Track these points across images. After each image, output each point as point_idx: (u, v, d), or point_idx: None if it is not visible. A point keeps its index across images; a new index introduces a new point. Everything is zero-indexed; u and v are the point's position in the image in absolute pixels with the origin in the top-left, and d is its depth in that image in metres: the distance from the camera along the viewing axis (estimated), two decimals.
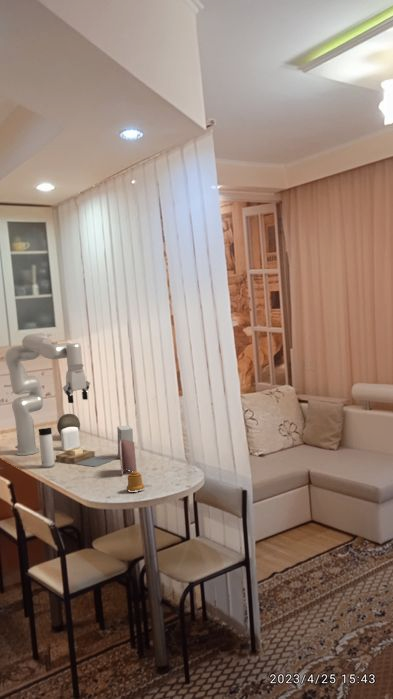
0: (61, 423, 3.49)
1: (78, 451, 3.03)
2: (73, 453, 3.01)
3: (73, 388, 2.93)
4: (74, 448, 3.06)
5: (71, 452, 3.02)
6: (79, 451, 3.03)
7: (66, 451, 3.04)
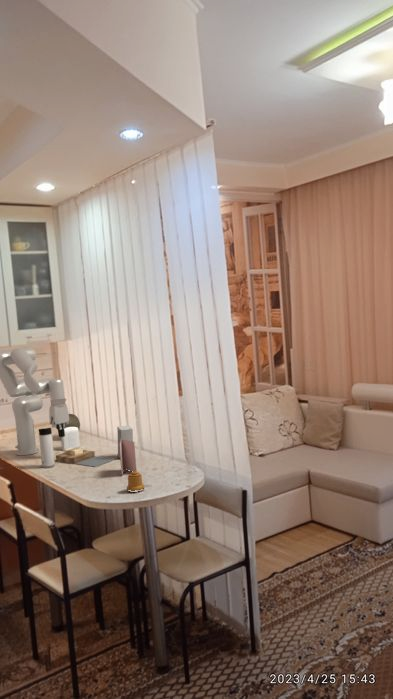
0: None
1: (78, 451, 3.03)
2: (73, 453, 3.01)
3: (56, 422, 3.04)
4: (74, 448, 3.06)
5: (71, 452, 3.02)
6: (79, 451, 3.03)
7: (66, 451, 3.04)
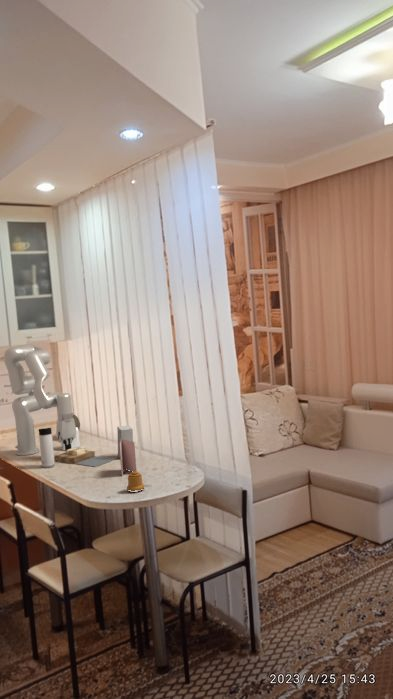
0: None
1: (80, 451, 3.02)
2: (75, 453, 3.00)
3: (63, 437, 3.02)
4: (76, 448, 3.05)
5: (73, 452, 3.01)
6: (81, 451, 3.02)
7: (68, 451, 3.03)
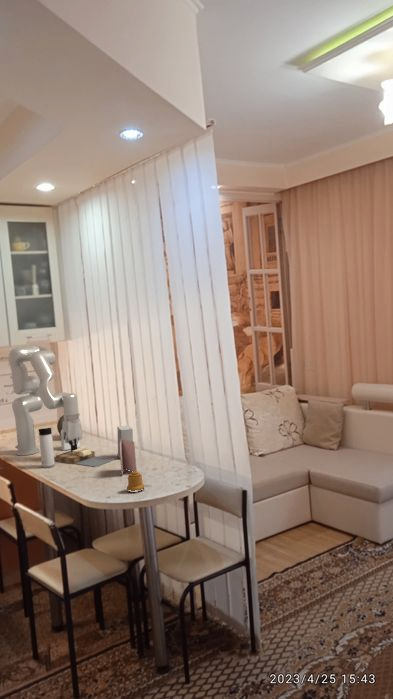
0: (61, 423, 3.49)
1: (86, 452, 2.99)
2: (81, 454, 2.98)
3: (69, 438, 3.00)
4: (82, 449, 3.03)
5: (79, 453, 2.99)
6: (87, 452, 3.00)
7: (74, 452, 3.01)
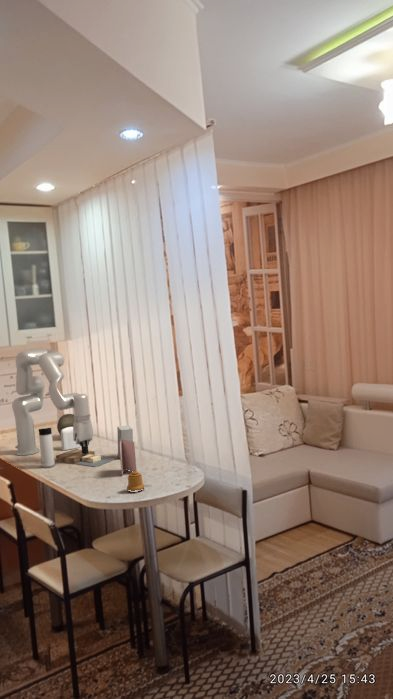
0: (61, 423, 3.49)
1: (96, 458, 2.95)
2: (91, 460, 2.94)
3: (80, 439, 2.95)
4: (92, 455, 2.99)
5: (89, 459, 2.95)
6: (97, 458, 2.96)
7: (84, 458, 2.97)
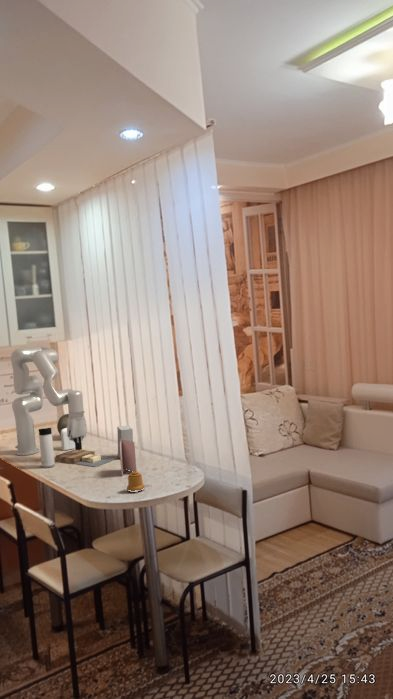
0: (61, 423, 3.49)
1: (96, 458, 2.95)
2: (91, 460, 2.94)
3: (74, 435, 2.97)
4: (92, 455, 2.99)
5: (89, 459, 2.95)
6: (97, 458, 2.96)
7: (84, 458, 2.97)
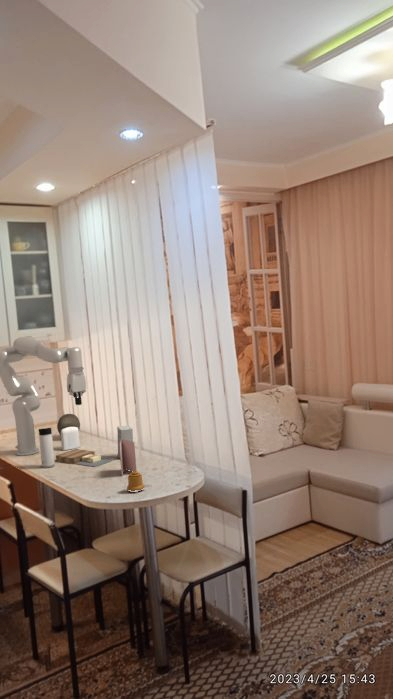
0: (61, 423, 3.49)
1: (96, 458, 2.95)
2: (91, 460, 2.94)
3: (73, 390, 3.07)
4: (92, 455, 2.99)
5: (89, 459, 2.95)
6: (97, 458, 2.96)
7: (84, 458, 2.97)
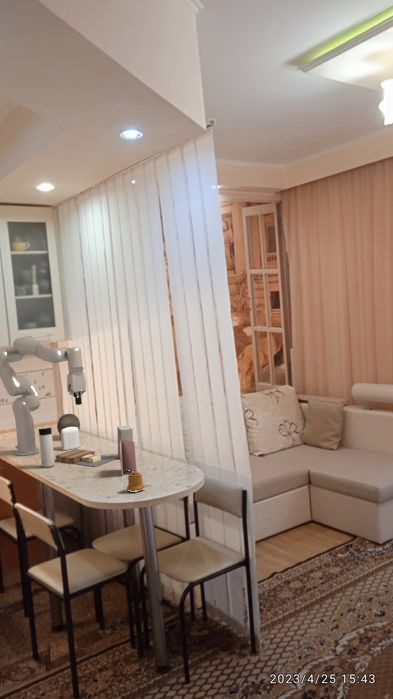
0: (61, 423, 3.49)
1: (96, 458, 2.95)
2: (91, 460, 2.94)
3: (74, 390, 3.07)
4: (92, 455, 2.99)
5: (89, 459, 2.95)
6: (97, 458, 2.96)
7: (84, 458, 2.97)
